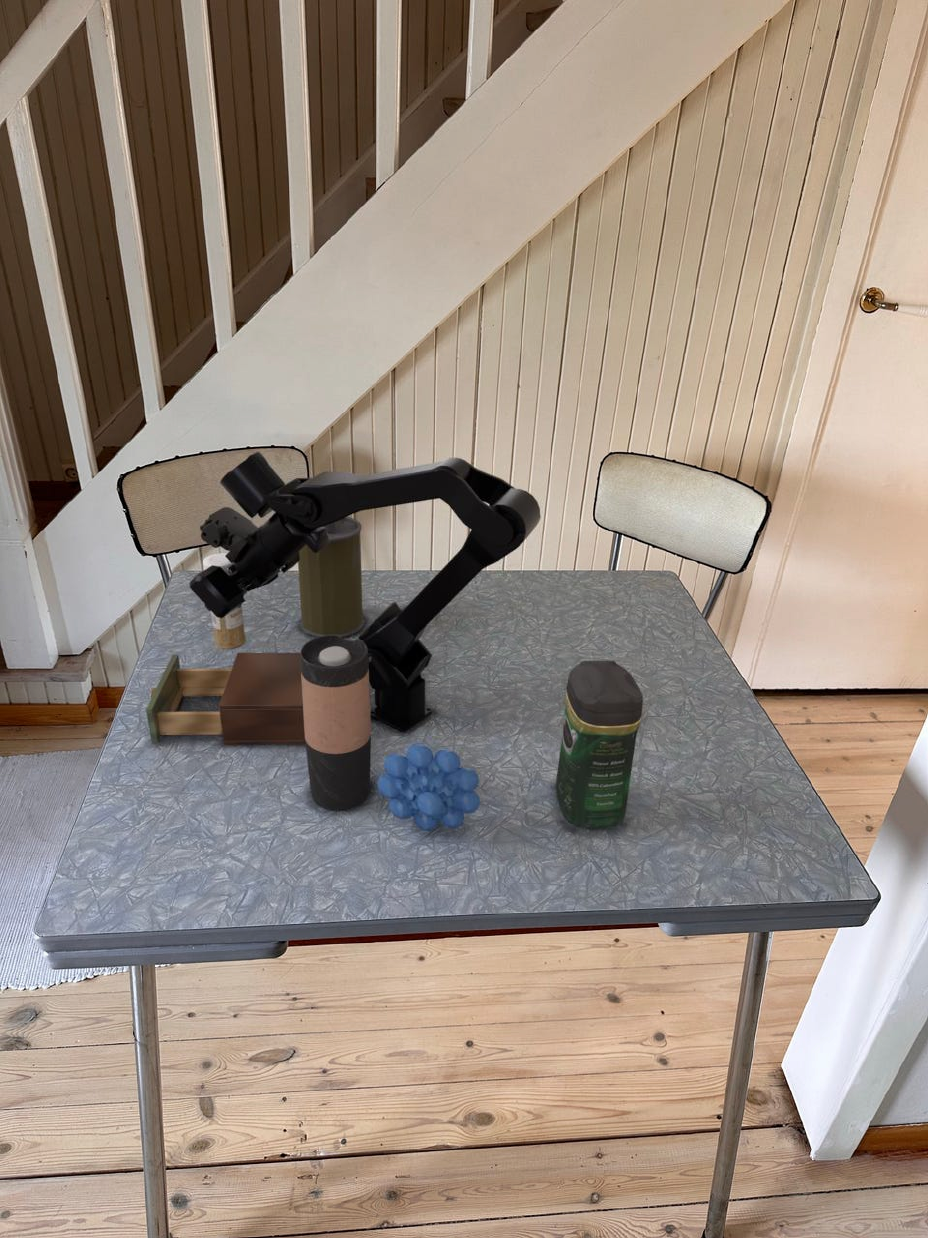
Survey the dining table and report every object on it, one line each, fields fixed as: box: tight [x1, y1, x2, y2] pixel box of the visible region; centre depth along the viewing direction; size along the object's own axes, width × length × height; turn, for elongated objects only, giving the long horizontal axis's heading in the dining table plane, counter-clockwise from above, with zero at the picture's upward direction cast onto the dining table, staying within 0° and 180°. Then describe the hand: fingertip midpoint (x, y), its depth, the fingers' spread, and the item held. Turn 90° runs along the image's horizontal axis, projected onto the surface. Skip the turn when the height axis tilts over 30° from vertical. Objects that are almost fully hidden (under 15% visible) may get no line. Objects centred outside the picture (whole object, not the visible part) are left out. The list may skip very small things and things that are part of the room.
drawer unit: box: [218, 652, 306, 746], centre depth 114 cm, size 12×13×6 cm
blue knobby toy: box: [376, 743, 481, 832], centre depth 93 cm, size 12×7×12 cm, turn 93°
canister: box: [297, 516, 365, 639], centre depth 135 cm, size 11×10×20 cm
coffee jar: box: [555, 659, 644, 831], centre depth 97 cm, size 10×8×19 cm
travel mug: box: [299, 634, 372, 812], centre depth 98 cm, size 8×8×20 cm
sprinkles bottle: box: [202, 552, 247, 650], centre depth 119 cm, size 5×5×13 cm
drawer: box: [145, 654, 232, 745], centre depth 114 cm, size 13×14×5 cm
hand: (217, 601), depth 120 cm, fingers closed on sprinkles bottle, 4 cm apart
